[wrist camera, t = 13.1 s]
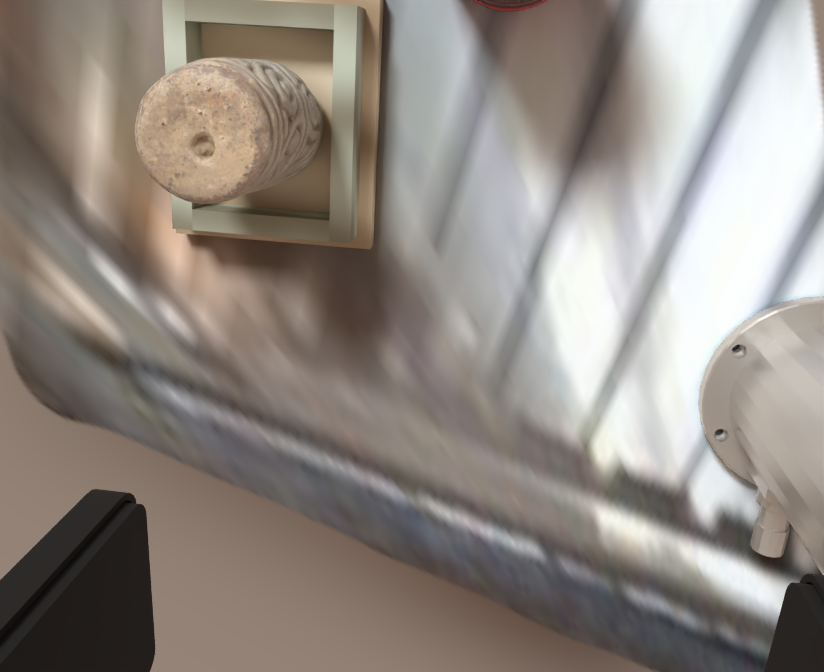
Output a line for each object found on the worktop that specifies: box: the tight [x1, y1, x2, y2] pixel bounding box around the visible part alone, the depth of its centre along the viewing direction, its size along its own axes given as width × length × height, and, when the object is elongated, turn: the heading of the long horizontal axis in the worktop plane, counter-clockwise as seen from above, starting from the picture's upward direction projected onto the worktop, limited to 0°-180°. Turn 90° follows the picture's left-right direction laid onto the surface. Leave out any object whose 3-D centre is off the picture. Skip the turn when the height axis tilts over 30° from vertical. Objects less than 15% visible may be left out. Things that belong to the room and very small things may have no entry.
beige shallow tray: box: [162, 0, 384, 249], centre depth 43 cm, size 14×12×4 cm
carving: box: [135, 58, 324, 204], centre depth 38 cm, size 6×8×12 cm
